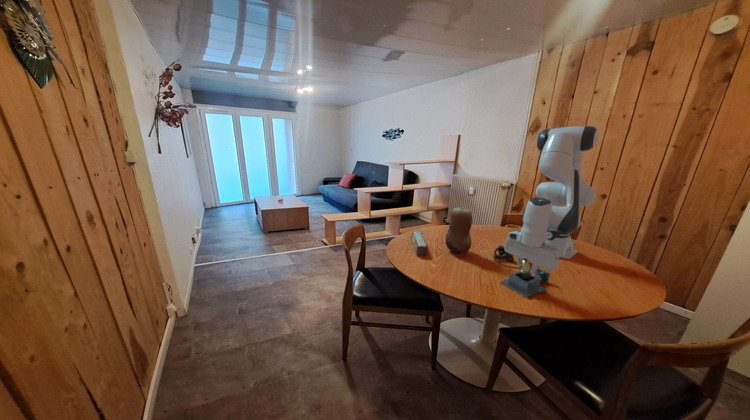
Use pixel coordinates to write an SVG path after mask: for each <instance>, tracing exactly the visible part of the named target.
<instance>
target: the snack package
mask: <svg viewBox="0 0 750 420" xmlns="http://www.w3.org/2000/svg"><path fill="white" fill-rule="evenodd" d="M410 237H411V240H410V241H411V242H412V245H413V248H414V252H415V254H416V256H418V257H425V256H427V255H428V252H429V250H428V249H429V248H428V245H427V243H426V240H425V238H424V236H423V233H422V232H420V231H412V233H411V236H410Z"/></svg>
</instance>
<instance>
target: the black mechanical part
mask: <svg viewBox="0 0 750 420" xmlns="http://www.w3.org/2000/svg"><path fill="white" fill-rule="evenodd" d="M497 251H498V254H497ZM492 256H493V257H492V258H493V260H494V261H495V260H497V261H510V259H511V261H512V262H513V263H514V261H515V258H514V257H515V256H514V255H512V254H509V253H507V252H505V250H504V246H503V245H501V244H500V245H498V246H497V247H496V248H495V249H494V251H493V255H492Z"/></svg>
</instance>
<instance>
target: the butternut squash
mask: <svg viewBox="0 0 750 420" xmlns="http://www.w3.org/2000/svg"><path fill="white" fill-rule="evenodd" d="M449 218H450V219H449V223H448V230H447V232H446V234H445V246H446V247H447V248H448V250H450V251H451V252H454V254H456V255H460V254H461V255H462V254H465V253H468V252H469V251H470V249H471V248H472V243H473V242H472V236H471V233H470V232H471V228H472V225H473V224H472V223H473V214H472V211H470V210H469V209H467V208H464V207H454V208H452V210H451V211H450V215H449Z"/></svg>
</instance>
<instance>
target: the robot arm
mask: <svg viewBox="0 0 750 420" xmlns="http://www.w3.org/2000/svg"><path fill="white" fill-rule="evenodd" d="M598 139H599V133H598V130H597V128H596V126H589V125H585V126H578V125H577V126H565V127H564V126H563V127H555V128H546V129H542V130H541V131H540V132H539V133H538V135H537V138H536V141H535V142H536V148H537V150H539V152H541V153H540V156H539V157H540V158H539V162H538V169H539V171H540V172H541V174H543V175H544V177H547V178H548V179H551V180H553V181H544V182H541V183H539V184H538V185H537V187H536V189H535V196H536V197H532V198H530V199H528V201H527V203H526V206H525V207H524V208H523V213H522V218H521V220H522V222H523V224H522V227H521V228H520V230H514V231H510V232H508V233H507V238H506V240H505V241H504V246H503V247H504V250H505V252H507V253H509V254H512V255H513V257H515V260H516V263H517V265H516V266H517V268H519V269H521V264H522V259H523V258H526V259H527V261H528V262H530V263H532V264H533V268H532V269H530V273H531V275H535V274H536V270H537V269H541V268H542V269H545V270H547V271H548V272H552V271H556V270H557V269H558V268H559V259H560V258H562V259H567V260H570V259H571V258H572V257H574V256H575V255H577V254H578V250H577V249H575V248H574V244H575V243H574V241H573V240H572V239H571V238H570V234H572V233H573V232H575V231H577V230H578V228H580V224H581V219H582V218H581V213H580V207H583V208H585V207H589V206H591V205H592V204H594V202H595V201H596V198H597V193H596V191H595V189H594V188H593V187H591V186H590V185H588V183H586V181H585V180H584V178H583V175H582V158H583V152H586V151H590V150H591V149H593V148H594V147H595V146H596V144H597V142H598ZM554 181H555V182H554ZM562 205H564V206H562Z"/></svg>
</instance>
